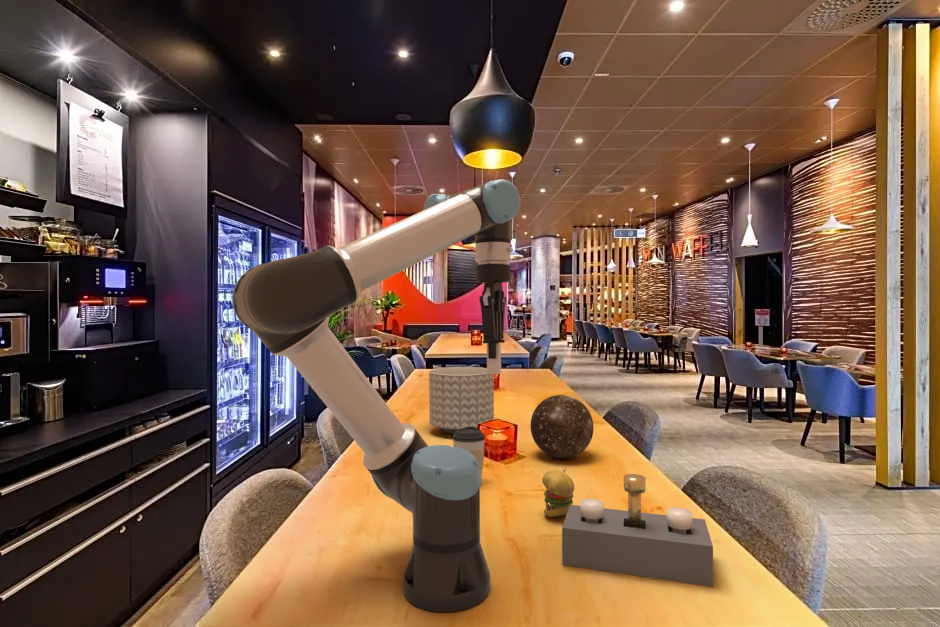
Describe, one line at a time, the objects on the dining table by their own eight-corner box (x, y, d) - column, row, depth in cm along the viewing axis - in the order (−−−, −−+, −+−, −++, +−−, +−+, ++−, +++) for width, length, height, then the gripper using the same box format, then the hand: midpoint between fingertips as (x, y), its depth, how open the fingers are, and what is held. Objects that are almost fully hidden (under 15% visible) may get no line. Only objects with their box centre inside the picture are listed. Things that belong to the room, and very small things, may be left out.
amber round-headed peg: (645, 533, 98) (645, 481, 97) (623, 530, 99) (623, 479, 99) (645, 524, 101) (645, 475, 101) (624, 522, 103) (623, 473, 102)
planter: (419, 437, 195) (419, 373, 194) (442, 423, 219) (442, 366, 218) (484, 442, 187) (483, 375, 187) (500, 426, 211) (500, 367, 211)
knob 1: (602, 558, 100) (602, 508, 100) (579, 555, 101) (579, 505, 101) (604, 548, 104) (604, 499, 104) (581, 545, 105) (581, 497, 105)
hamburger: (553, 508, 126) (552, 458, 126) (580, 515, 121) (580, 464, 121) (536, 518, 120) (535, 466, 120) (564, 526, 115) (563, 472, 115)
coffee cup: (482, 489, 139) (481, 433, 139) (449, 487, 141) (448, 432, 140) (487, 478, 148) (487, 426, 147) (456, 476, 150) (456, 424, 149)
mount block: (713, 586, 90) (712, 546, 90) (562, 564, 98) (562, 527, 98) (704, 555, 102) (704, 519, 102) (570, 537, 110) (570, 504, 110)
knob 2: (693, 570, 95) (693, 517, 95) (667, 567, 96) (667, 515, 96) (691, 559, 99) (691, 508, 99) (666, 556, 100) (666, 506, 100)
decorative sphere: (606, 462, 162) (606, 398, 162) (550, 470, 155) (550, 403, 155) (571, 446, 181) (571, 388, 181) (519, 452, 174) (519, 392, 173)
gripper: (502, 260, 105) (503, 378, 105) (517, 265, 117) (517, 370, 117) (466, 262, 107) (467, 376, 107) (485, 266, 119) (485, 369, 120)
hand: (494, 373), depth 112 cm, fingers closed
